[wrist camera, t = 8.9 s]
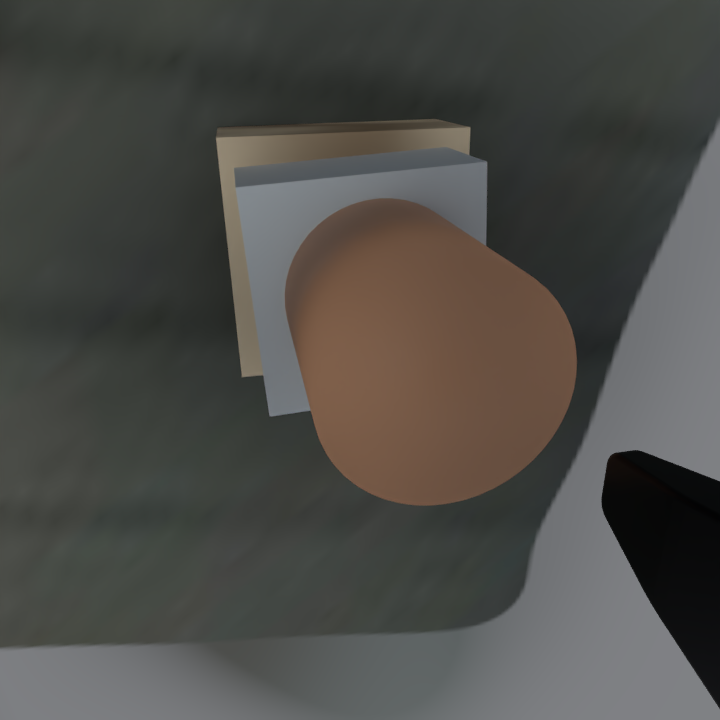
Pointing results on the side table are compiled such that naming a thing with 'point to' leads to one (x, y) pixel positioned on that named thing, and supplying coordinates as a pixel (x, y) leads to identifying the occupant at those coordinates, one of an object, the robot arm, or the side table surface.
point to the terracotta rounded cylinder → (424, 353)
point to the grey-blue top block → (313, 205)
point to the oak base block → (304, 145)
